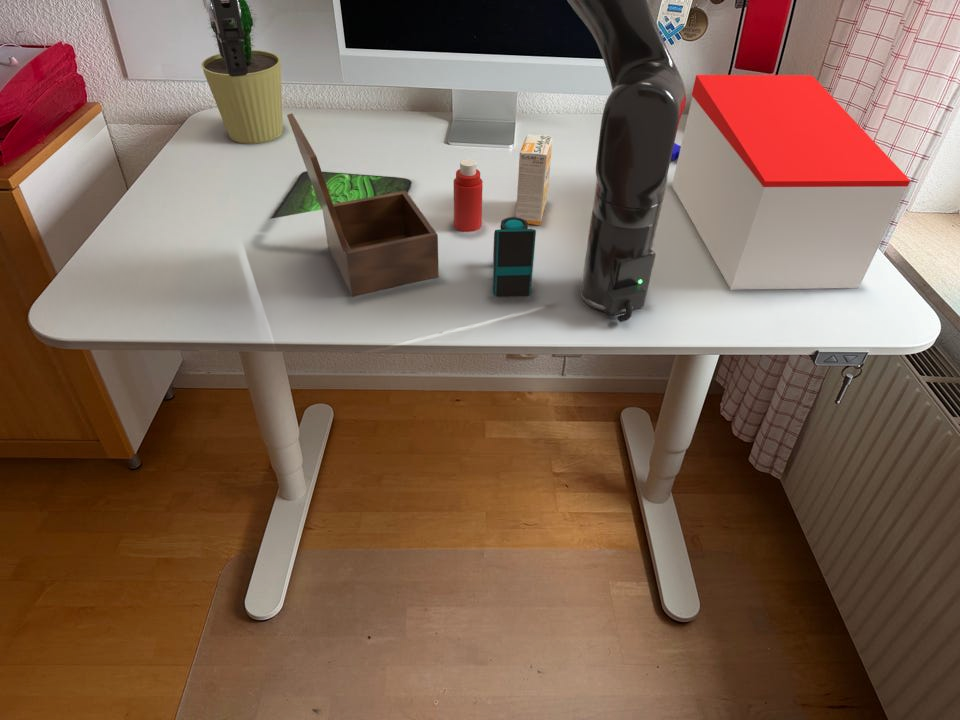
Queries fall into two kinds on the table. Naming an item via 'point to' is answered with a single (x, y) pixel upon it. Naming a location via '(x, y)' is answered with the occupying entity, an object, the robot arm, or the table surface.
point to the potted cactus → (248, 90)
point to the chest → (383, 243)
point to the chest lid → (317, 181)
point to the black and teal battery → (513, 258)
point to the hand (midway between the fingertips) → (234, 65)
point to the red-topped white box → (783, 183)
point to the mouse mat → (338, 190)
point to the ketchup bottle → (468, 197)
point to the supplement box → (533, 177)
